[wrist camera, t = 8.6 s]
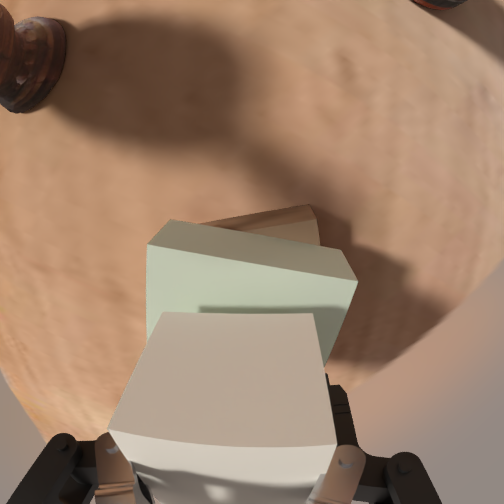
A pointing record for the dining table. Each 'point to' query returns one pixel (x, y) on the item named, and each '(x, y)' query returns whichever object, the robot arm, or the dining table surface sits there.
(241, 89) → the dining table surface
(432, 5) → the supplement bottle
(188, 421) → the cream block
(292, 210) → the lower block
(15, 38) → the mortar and pestle
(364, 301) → the dining table surface
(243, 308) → the upper block
